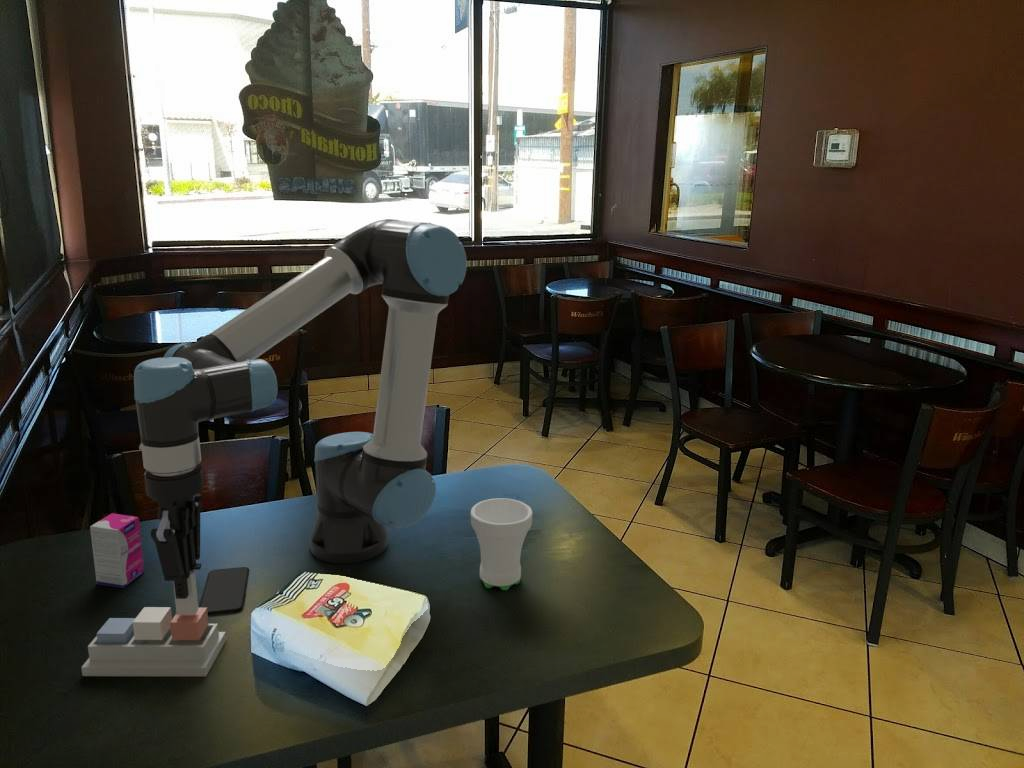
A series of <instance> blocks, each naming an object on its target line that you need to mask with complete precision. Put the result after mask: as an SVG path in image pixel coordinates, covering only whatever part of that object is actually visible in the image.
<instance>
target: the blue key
mask: <svg viewBox="0 0 1024 768" xmlns="http://www.w3.org/2000/svg"><path fill="white" fill-rule="evenodd" d="M135 618H136V617H135ZM135 618H134V617H109V618H108V619H107V620H106V622H105V623H104V624H103V625H102V626H101V627H100V629H99V630H98V631H97V632H96V636H97V640H98V645H127V644H128V643H129V641H130V640H131V639H132V637H133V636H134V629H133V621H134V620H135Z"/></svg>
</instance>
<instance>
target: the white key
mask: <svg viewBox="0 0 1024 768" xmlns="http://www.w3.org/2000/svg"><path fill="white" fill-rule="evenodd" d="M172 619H173V614H172V607H167V606H165V607H164V606H160V607H159V606H144V607H143V608H142V609H141V611H140V612H139V613H138V615H137V616H136V617H135V620H134V621H133V629H134V637H135V640H162V639H163V638H164V636H165V635H166V633H167V632H168V630H169V629H170V628H171V625H170V622H171V621H172Z"/></svg>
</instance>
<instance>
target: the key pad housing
mask: <svg viewBox="0 0 1024 768" xmlns="http://www.w3.org/2000/svg"><path fill="white" fill-rule="evenodd" d="M226 641H227V633H226V631H219V624H218V623H209V625H208V627H207V628H206V630H205V631H204V633H203V635H202V636H201V638H200V640H172V634H171V628H170V629H169V630H168V632H167V633H166V635H165V636H164V638H163V639H162V640H135V637H134V636H133V637H132V639H131V640H130V641H129V643H128V644H127V645H98V640H97V635H96V636H95V637H94V638H93V639H92V641H91V642H90V643H89V644H88V646H87V652H88V658H87V659H86V661H85V662H84V664H83V665H81V667H80V668H81V673H82V677H204V678H205V677H207V675H208V674H209V672H210V670H211V668H212V666H213V665H214V663H215V661H216V660H217V658H218V656H219V654H220V653H221V651H222V649H223V647H224V644H225V643H226Z"/></svg>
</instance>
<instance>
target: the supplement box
mask: <svg viewBox="0 0 1024 768" xmlns="http://www.w3.org/2000/svg"><path fill="white" fill-rule="evenodd" d="M89 526H90V527H89V530H90V539H91V546H92V555H93V556H92V557H93V562H94V572H95V581H96V584H97V585H100V586H101V585H102V586H110V587H114V588H115V587H116V588H121V589H124V588H126V586H128V584H130V583H132V581H134V580H135V579H136V578H138V577H139V576H141V575H143V574H144V572H145V568H144V558H143V557H144V556H143V549H142V548H143V547H142V538H141V528H140V527H141V526H140V518H139V517H138V516H134V515H128V514H127V515H126V514H119V513H113V512H112V513H110V514H108V515H107V516H105V517H103V518H102V519H100V520H98V521H97V522H95V523H93V524H92V525H89Z"/></svg>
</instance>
